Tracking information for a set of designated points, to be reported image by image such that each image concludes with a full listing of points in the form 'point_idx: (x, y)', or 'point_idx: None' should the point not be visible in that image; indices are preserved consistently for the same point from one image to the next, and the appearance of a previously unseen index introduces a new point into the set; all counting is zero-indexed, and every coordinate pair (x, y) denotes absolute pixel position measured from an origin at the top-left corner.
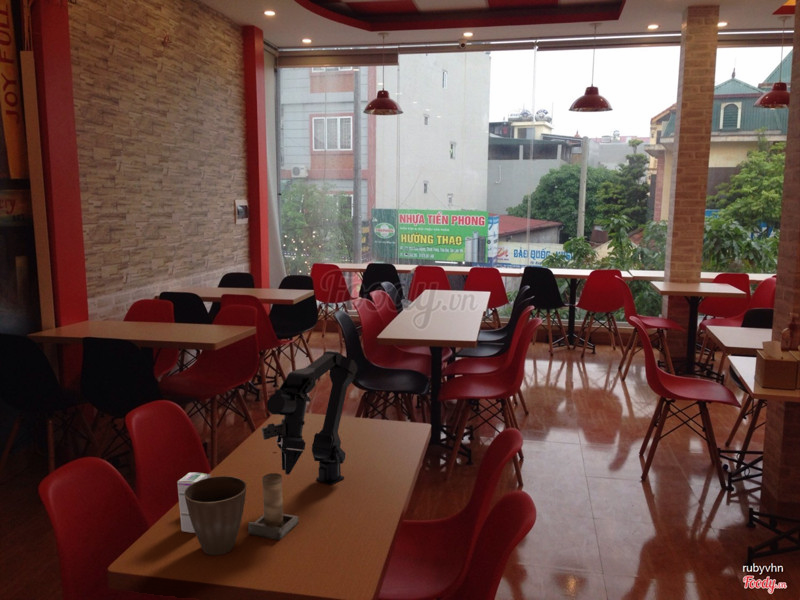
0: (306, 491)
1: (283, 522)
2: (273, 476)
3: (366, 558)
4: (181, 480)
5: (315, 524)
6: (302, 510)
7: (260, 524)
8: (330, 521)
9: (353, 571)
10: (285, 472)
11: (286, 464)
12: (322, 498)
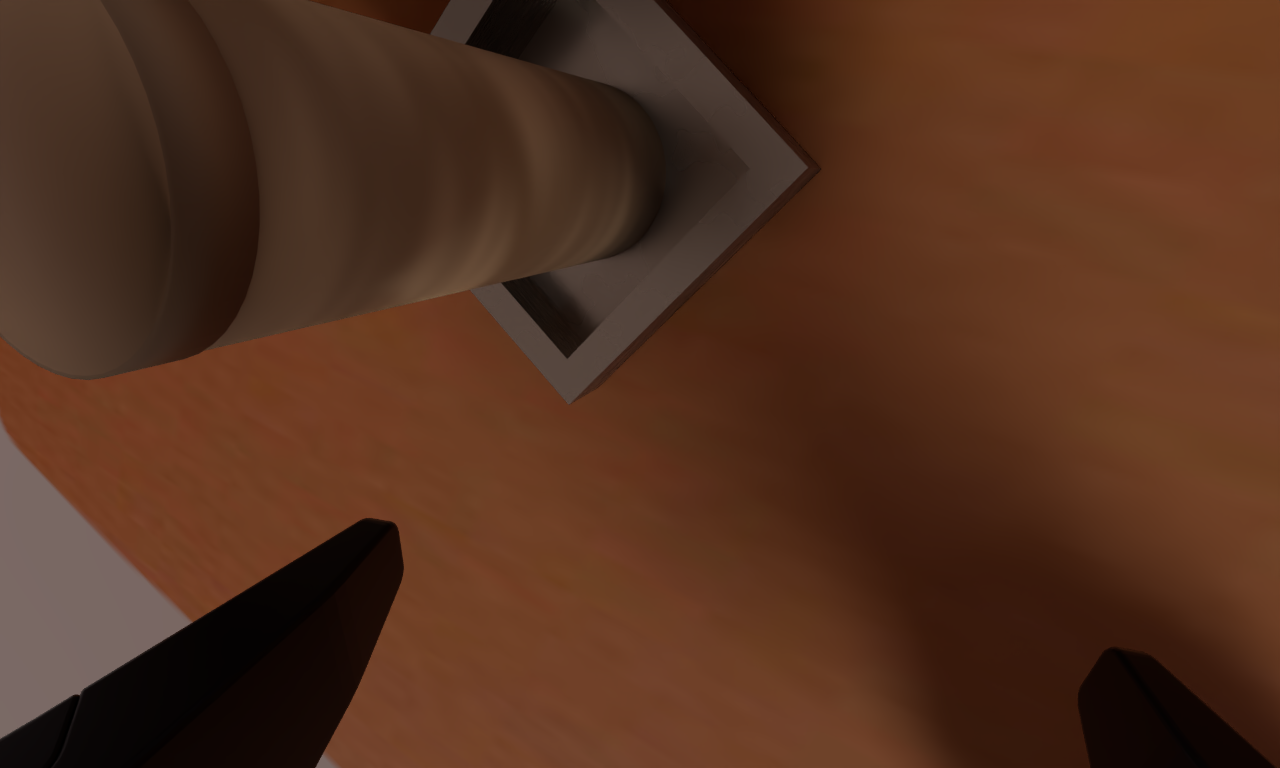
0: (1238, 732)
1: (623, 273)
2: (49, 206)
3: (169, 540)
4: None
5: (535, 488)
6: (802, 504)
7: (464, 13)
8: (537, 590)
9: (99, 440)
10: (345, 532)
11: (159, 667)
12: (945, 750)
